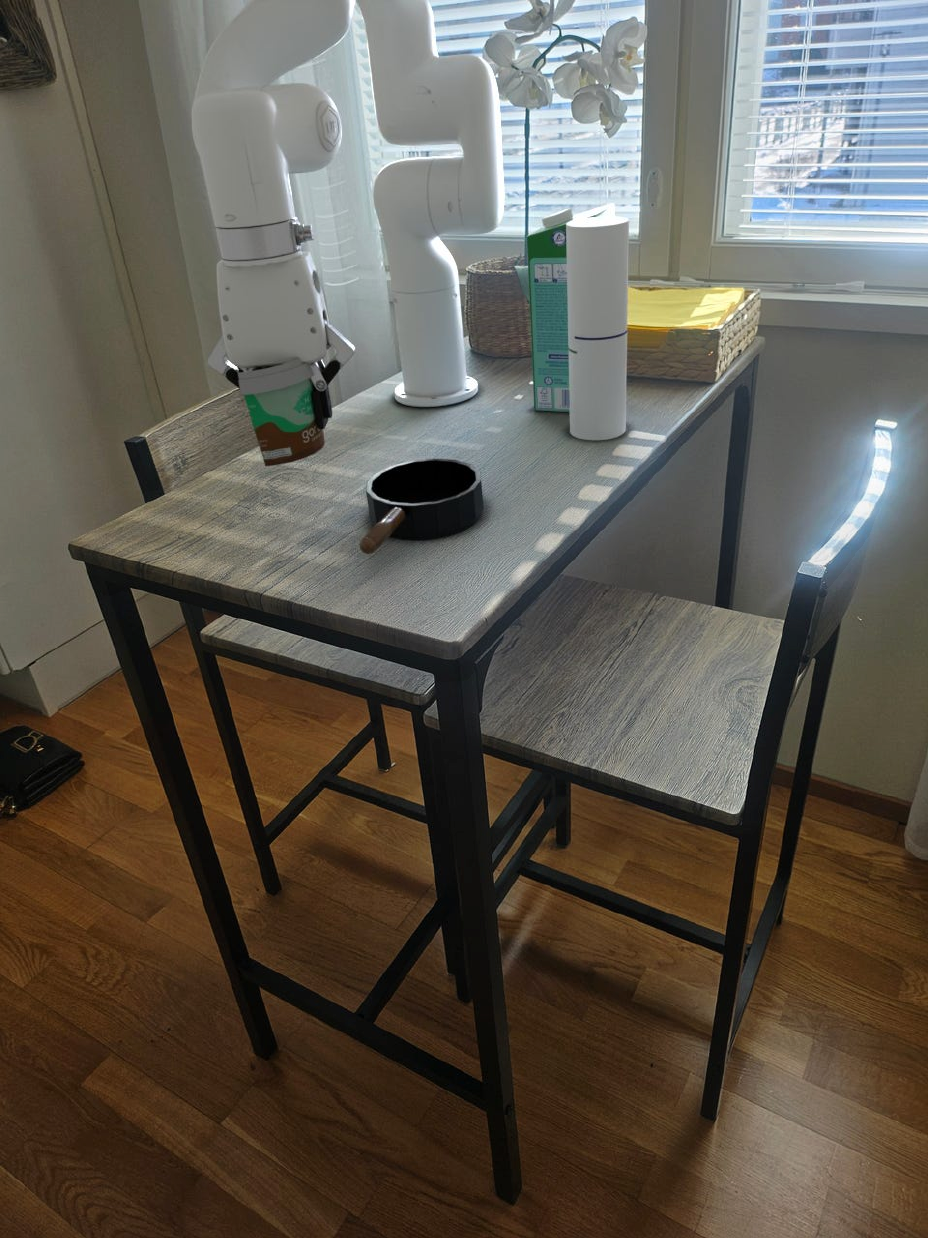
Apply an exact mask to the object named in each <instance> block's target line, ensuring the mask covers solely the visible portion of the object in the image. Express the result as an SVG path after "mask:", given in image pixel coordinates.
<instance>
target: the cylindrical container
mask: <svg viewBox="0 0 928 1238" xmlns="http://www.w3.org/2000/svg"><path fill="white" fill-rule="evenodd" d="M629 241H630V219H629V218H628V217H625V216H616V215H614V216H603V217H590V218H582V219H577V220H572V221H569V222H567V223H566V244H567V297H568V347H569V400H570V412H569V433H570V434H571V436H573V437H575V438H577V439H579V440H585V441H606V440H607V441H608V440H611V439H616V438H618V437H620V436H622V435H624V434H625V432H626V430H627V376H628V375H627V369H628V368H627V365H628V364H627V363H628V362H627V361H628V358H627V357H628V314H629V313H628V312H629V311H628V307H629V305H628V304H629V302H628V301H629V248H630V247H629V243H630V242H629Z"/></svg>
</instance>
